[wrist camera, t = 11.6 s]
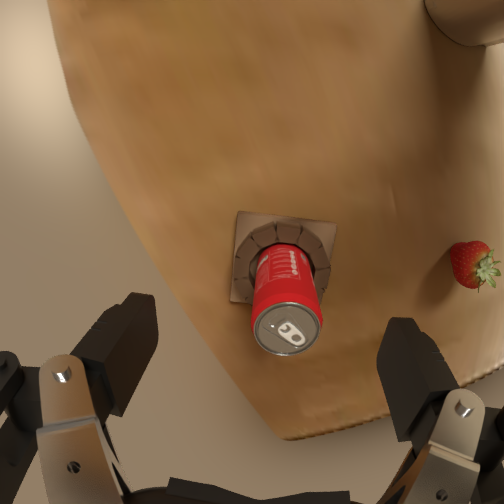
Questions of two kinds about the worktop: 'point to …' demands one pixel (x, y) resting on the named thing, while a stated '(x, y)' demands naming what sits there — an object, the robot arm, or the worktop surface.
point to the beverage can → (285, 301)
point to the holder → (272, 232)
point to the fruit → (473, 264)
